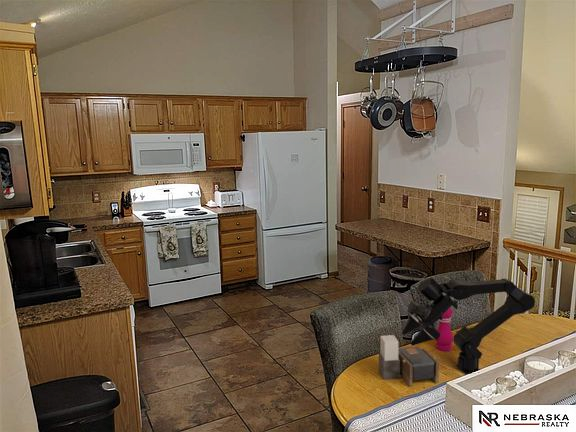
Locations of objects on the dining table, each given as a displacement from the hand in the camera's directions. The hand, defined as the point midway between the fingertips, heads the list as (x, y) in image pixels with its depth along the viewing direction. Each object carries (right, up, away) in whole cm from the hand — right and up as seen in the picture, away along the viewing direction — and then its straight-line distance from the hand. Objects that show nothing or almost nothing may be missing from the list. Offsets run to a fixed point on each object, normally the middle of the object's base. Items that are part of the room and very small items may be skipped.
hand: (406, 339), depth 163 cm
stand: (-6, -13, +1) cm, 15 cm away
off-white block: (-6, -6, 0) cm, 9 cm away
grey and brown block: (+3, -11, 0) cm, 12 cm away
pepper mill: (+21, -10, +21) cm, 31 cm away
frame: (+3, -14, -1) cm, 14 cm away
